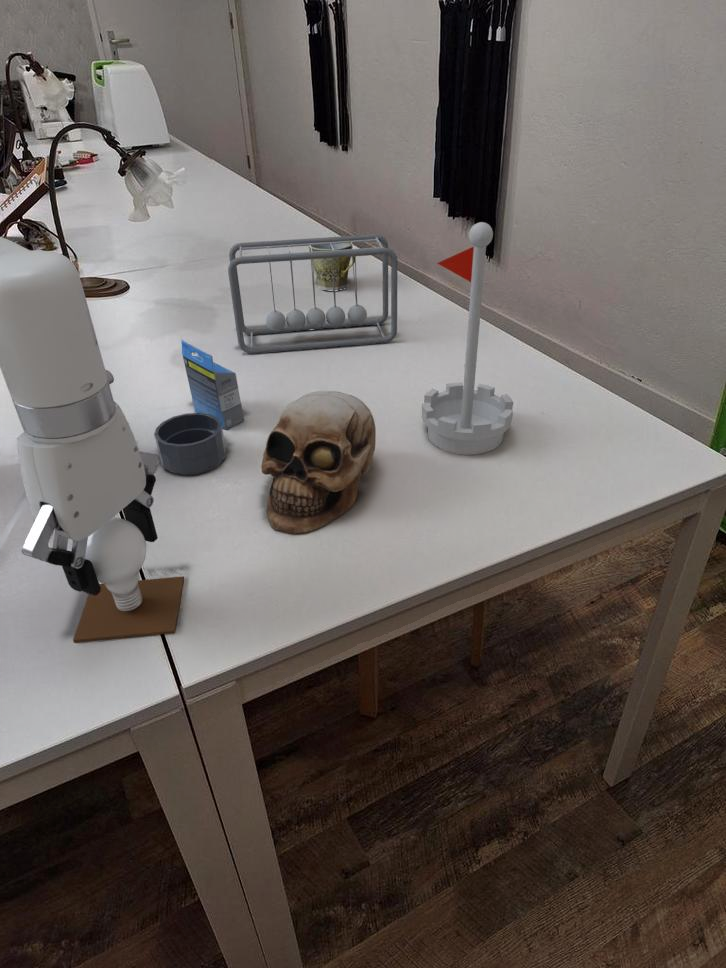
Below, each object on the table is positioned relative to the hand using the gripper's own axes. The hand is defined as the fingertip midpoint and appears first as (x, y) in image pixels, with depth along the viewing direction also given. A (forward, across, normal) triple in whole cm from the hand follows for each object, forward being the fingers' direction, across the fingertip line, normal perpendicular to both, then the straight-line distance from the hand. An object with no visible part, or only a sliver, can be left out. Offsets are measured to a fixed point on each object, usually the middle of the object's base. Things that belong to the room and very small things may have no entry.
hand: (116, 561), depth 65 cm
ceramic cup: (+7, -100, -24) cm, 103 cm away
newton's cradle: (+7, -72, -15) cm, 74 cm away
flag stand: (+7, -48, +22) cm, 53 cm away
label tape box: (+7, -38, -15) cm, 42 cm away
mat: (+7, 0, 0) cm, 7 cm away
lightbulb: (+6, 0, 0) cm, 6 cm away
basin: (+7, -27, -11) cm, 30 cm away
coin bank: (+7, -27, +9) cm, 29 cm away
